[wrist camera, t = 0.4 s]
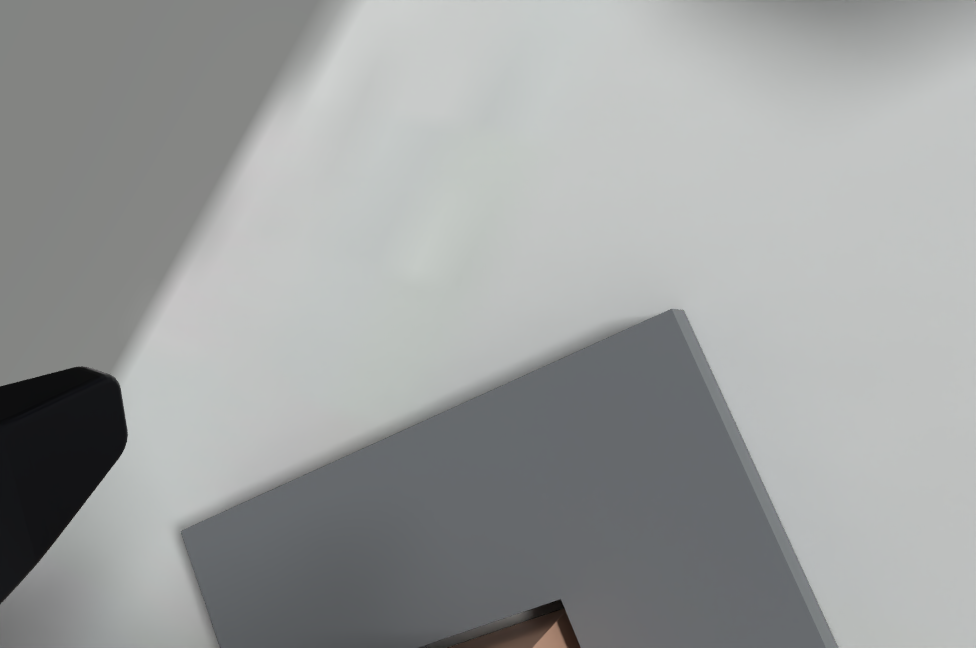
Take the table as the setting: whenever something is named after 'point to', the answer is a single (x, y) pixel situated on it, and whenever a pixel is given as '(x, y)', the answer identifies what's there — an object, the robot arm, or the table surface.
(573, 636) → the tan rectangular block
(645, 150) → the table surface
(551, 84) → the table surface
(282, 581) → the pocket plate
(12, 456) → the robot arm
